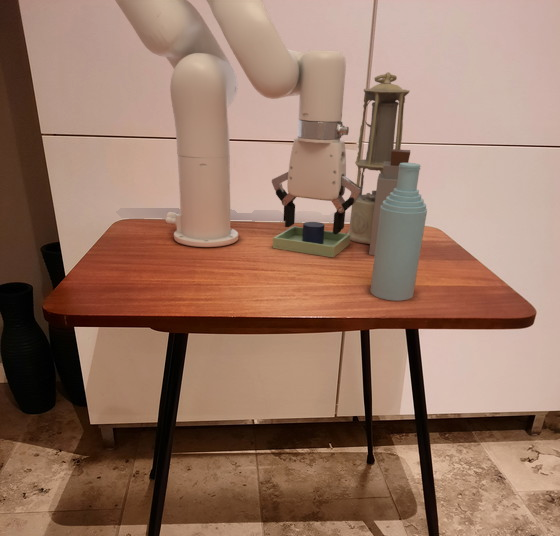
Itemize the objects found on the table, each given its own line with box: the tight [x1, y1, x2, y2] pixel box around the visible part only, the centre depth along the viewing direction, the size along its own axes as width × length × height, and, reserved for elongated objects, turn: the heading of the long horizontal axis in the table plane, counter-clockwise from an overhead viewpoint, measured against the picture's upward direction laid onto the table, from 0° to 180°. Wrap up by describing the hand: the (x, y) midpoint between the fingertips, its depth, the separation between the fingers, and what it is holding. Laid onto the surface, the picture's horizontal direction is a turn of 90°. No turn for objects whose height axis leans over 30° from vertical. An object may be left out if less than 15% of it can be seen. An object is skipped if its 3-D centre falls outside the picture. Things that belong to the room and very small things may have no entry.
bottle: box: [369, 162, 428, 302], centre depth 80 cm, size 7×7×19 cm
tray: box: [272, 225, 351, 258], centre depth 105 cm, size 12×10×2 cm
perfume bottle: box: [368, 148, 411, 256], centre depth 100 cm, size 7×7×18 cm
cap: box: [302, 221, 326, 244], centre depth 105 cm, size 4×4×4 cm
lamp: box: [346, 72, 411, 245], centre depth 106 cm, size 10×13×30 cm
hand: (312, 229), depth 104 cm, fingers open, 9 cm apart
